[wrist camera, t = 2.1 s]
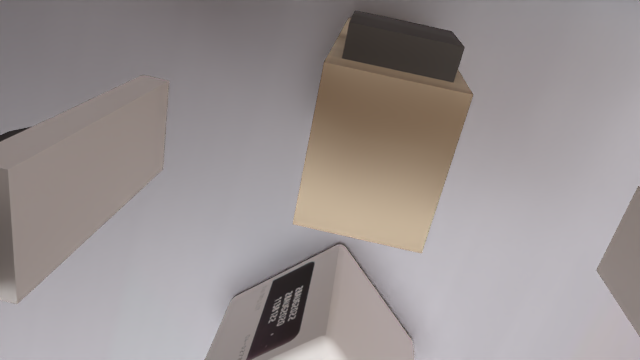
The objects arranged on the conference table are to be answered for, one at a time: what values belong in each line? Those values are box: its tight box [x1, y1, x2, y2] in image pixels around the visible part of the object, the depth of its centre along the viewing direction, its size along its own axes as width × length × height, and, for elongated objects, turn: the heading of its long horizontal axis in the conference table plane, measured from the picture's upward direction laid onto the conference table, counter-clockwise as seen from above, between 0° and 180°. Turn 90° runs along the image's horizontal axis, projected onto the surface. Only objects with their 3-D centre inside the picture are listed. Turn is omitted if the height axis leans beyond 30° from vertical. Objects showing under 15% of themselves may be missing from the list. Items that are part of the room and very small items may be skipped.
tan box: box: [293, 11, 473, 253], centre depth 19 cm, size 6×4×10 cm, turn 169°
